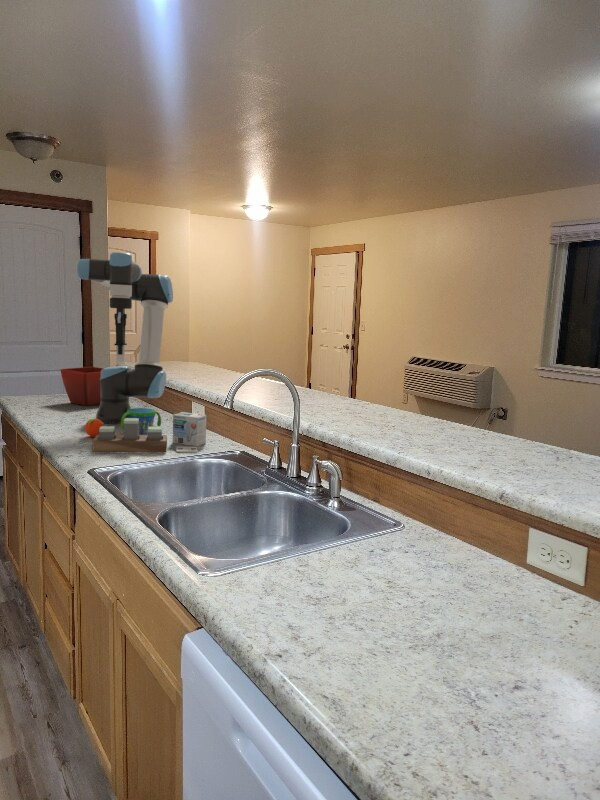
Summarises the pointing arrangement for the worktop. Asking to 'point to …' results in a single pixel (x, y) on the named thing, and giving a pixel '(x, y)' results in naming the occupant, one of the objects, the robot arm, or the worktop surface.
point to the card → (187, 449)
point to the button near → (107, 432)
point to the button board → (129, 444)
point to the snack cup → (142, 418)
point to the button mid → (131, 428)
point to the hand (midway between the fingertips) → (120, 363)
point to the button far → (154, 433)
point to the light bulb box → (189, 428)
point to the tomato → (93, 427)
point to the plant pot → (82, 384)
